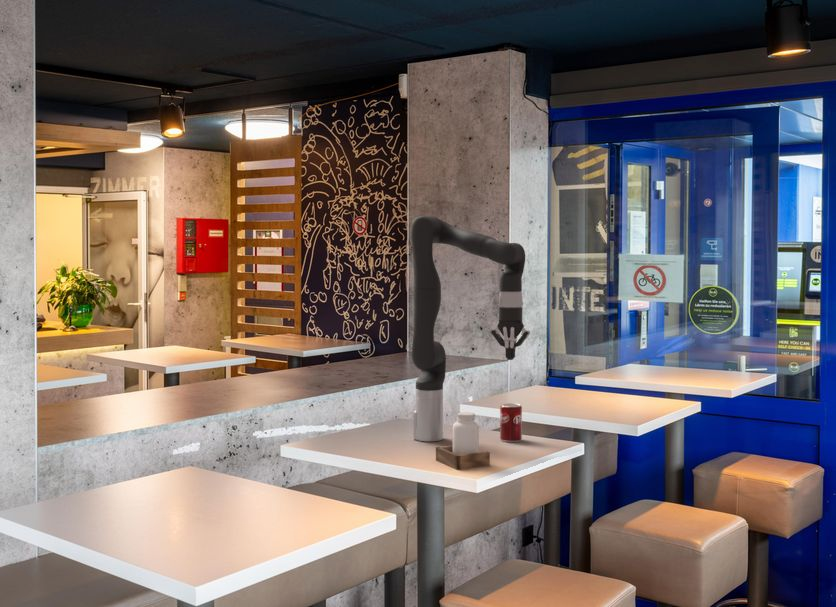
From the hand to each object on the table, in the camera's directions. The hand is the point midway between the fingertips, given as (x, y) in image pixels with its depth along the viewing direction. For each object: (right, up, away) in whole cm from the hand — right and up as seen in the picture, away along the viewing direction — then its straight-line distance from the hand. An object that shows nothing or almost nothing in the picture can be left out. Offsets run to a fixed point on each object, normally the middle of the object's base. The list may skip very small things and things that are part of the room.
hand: (510, 359), depth 291 cm
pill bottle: (-15, -30, -16) cm, 38 cm away
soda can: (+2, -28, +15) cm, 32 cm away
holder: (-16, -30, -16) cm, 38 cm away
